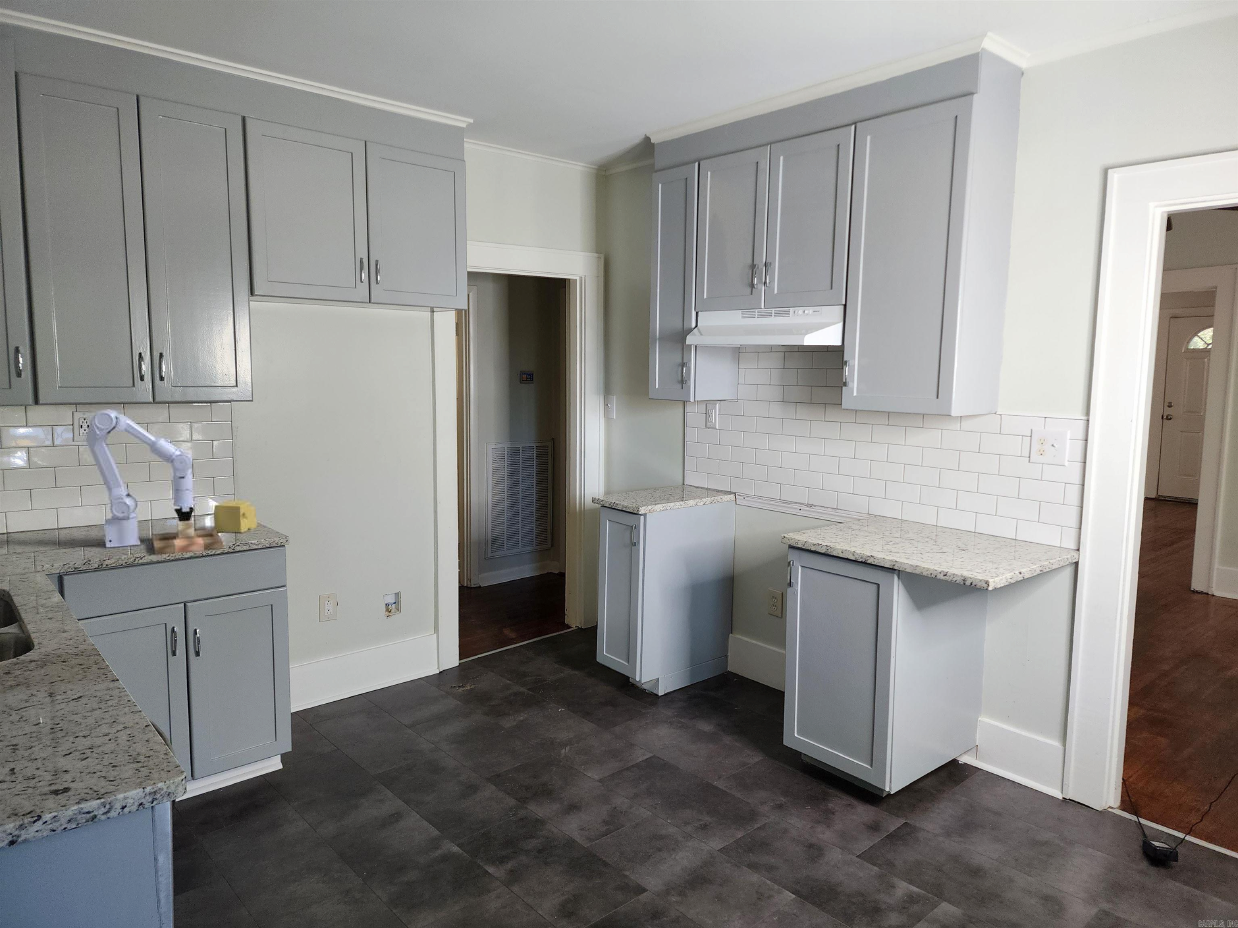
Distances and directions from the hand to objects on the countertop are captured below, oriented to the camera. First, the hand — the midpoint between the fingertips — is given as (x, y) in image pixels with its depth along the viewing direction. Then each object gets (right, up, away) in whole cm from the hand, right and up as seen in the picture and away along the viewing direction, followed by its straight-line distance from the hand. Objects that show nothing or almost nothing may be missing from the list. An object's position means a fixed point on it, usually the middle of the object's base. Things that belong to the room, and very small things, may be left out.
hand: (184, 529), depth 273 cm
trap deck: (+4, -5, -5) cm, 8 cm away
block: (+2, -2, -3) cm, 4 cm away
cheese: (+7, -2, +20) cm, 22 cm away
